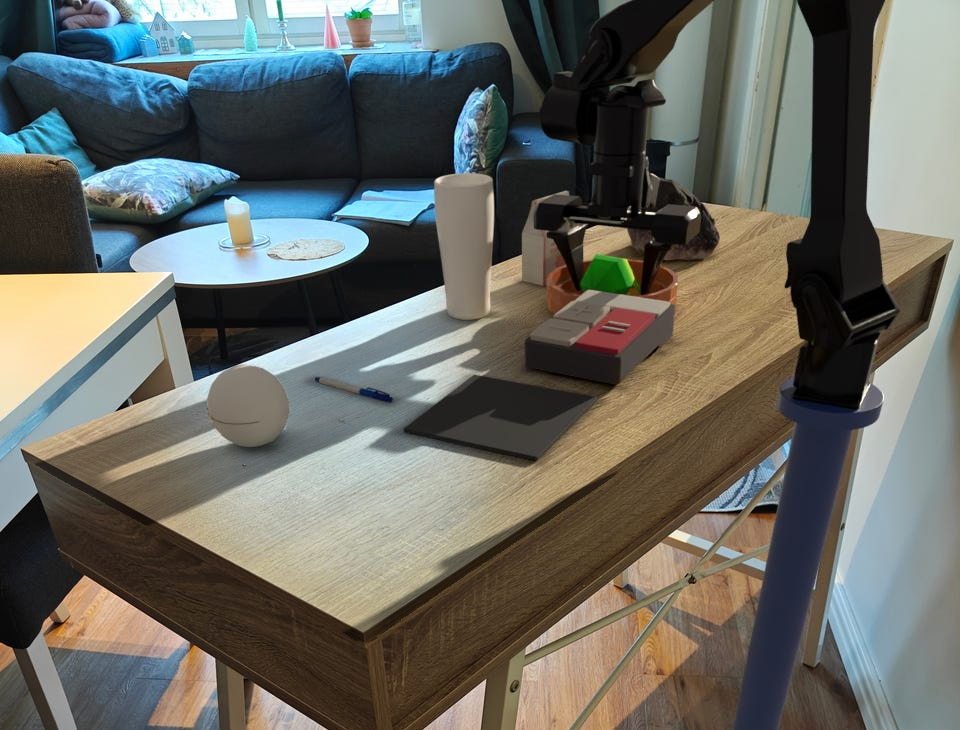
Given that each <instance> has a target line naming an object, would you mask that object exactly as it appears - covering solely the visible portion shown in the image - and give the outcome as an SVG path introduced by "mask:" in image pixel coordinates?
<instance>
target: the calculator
mask: <svg viewBox="0 0 960 730" xmlns="http://www.w3.org/2000/svg"><path fill="white" fill-rule="evenodd" d="M675 309H676V305H674V304H670V302H667V301H660V300H653V299H647V298H640V297H634V296H627V295H621V294H614V293H607V292H601V291H594V290H587V291H586V292H584V293H583V294H582V295H581V296H579V297H578V298H577V299H576V300H574V301H571V302H570V303H569V304H567V305H566V306H565V307H563V308H562V309H561V310H560V311H558V312H557V313H556V314H553V317H551V318H548V319H547V320H546V321H544V322H543V323H542V324H541V325H539V326H538V327H537V328H535V329H534V330H533V331H531V332H530V334H529V335H528V336H527V337H526V338H525V339H524V364H525V367H526V368H529V369H534V370H540V371H545V372H549V373H554V374H560V375H564V376H569V377H575V378H580V379H584V380H590V381H594V382H600V383H605V384H609V385H619V384H620V383H622V382H623V381H624V380H625V378H627V377H628V376H629V375H630V374H631V373H632V372H633V371H634V370H635V369H636V368H637V367H638V366H639V365H640V364H641V363H642V362H643V361H644V360H645V359H646V358H647V357H648V356H649V355H650V354H651V353H652V352H653V351H654V350H655V349H656V348H659V349H660V348H662V347H663V346H664V345H665V344H667V342H668V341H669V340H670V339H671V338H672V337H673V335H674V334H673V333H674V322H675V314H676V313H675V312H676V310H675Z"/></svg>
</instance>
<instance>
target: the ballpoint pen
mask: <svg viewBox="0 0 960 730" xmlns="http://www.w3.org/2000/svg"><path fill="white" fill-rule="evenodd" d="M314 381H315V382H317V383H319V384H321V385H326V386H329V387H332V388H336V389H340V390H343V391H347V392H350V393H354V394H358V395H360V396H362V397H363V396H364V397H367V398H370V399H374V400H378V401H381V402H386V403H392V402H393V401H394V400H393V399H394V398H393V397H392V396H391V394H389V393H387V392H385V391H382V390H379V389H376V388H371V387H366V388H364V387H359V386H355V385H351V384H348V383H343V382H340V381H336V380H333V379H329V378H325V377H323V376H321V377H320V376H315V377H314Z"/></svg>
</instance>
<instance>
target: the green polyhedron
mask: <svg viewBox="0 0 960 730" xmlns="http://www.w3.org/2000/svg"><path fill="white" fill-rule="evenodd" d="M627 259H628V258H622V257H617V256H610V255H604V254H598V253H595V255H594V257H593V259H591V260H592V262H591V264H590V266H589V268H588V269H587V271H586V273H585V275H584V277H583V279H582V281H581V283H580V286H581V288H582V290H583V293H584V292H586V291H587V290H594V291H601V292H607V293H614V294H621V295H627V293H628V291H629V290H630V288H631V286H632V284H633V286H634V287H635V288H636V290H637V291H638V292H639V293H640V295H641V290H640V287H639V283H638V281H637V280H636V279H635V278H634V276H633V270H632V268H631V266H629V263H628V261H627Z"/></svg>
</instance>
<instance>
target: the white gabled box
mask: <svg viewBox="0 0 960 730" xmlns="http://www.w3.org/2000/svg"><path fill="white" fill-rule="evenodd" d="M554 194H555V193H554ZM554 194H551V195H547V196H544V197H540V198H537V199H534V200H532V201H531V206H530V210H529V213H528V217H527V219H526V221H525V224H524V227H523V229H522V232H521V281H522V282H526V283H530V284H534V285H538V286H542V287H544V286H547V278H548V275H549V273H551V272H552V271H553V270H555V269H556V268H558V267H561V266H564V265H566V264H565V261H564V259H563V257H562V255H561V254H560V252H559V250H558V248H557V246H556V244H555V242H554V240H553V239H550V238H547V236H546V233H547V232H549V231H545V230H536V229H534V211H535V208H536V206H537V205H538V204H539V203H540V202H541V201H543V200H545V199H547V198H549V197H551V196H552V195H554ZM556 194H557V195H569V196H570V190H564V191H561V192H557V193H556Z"/></svg>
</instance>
